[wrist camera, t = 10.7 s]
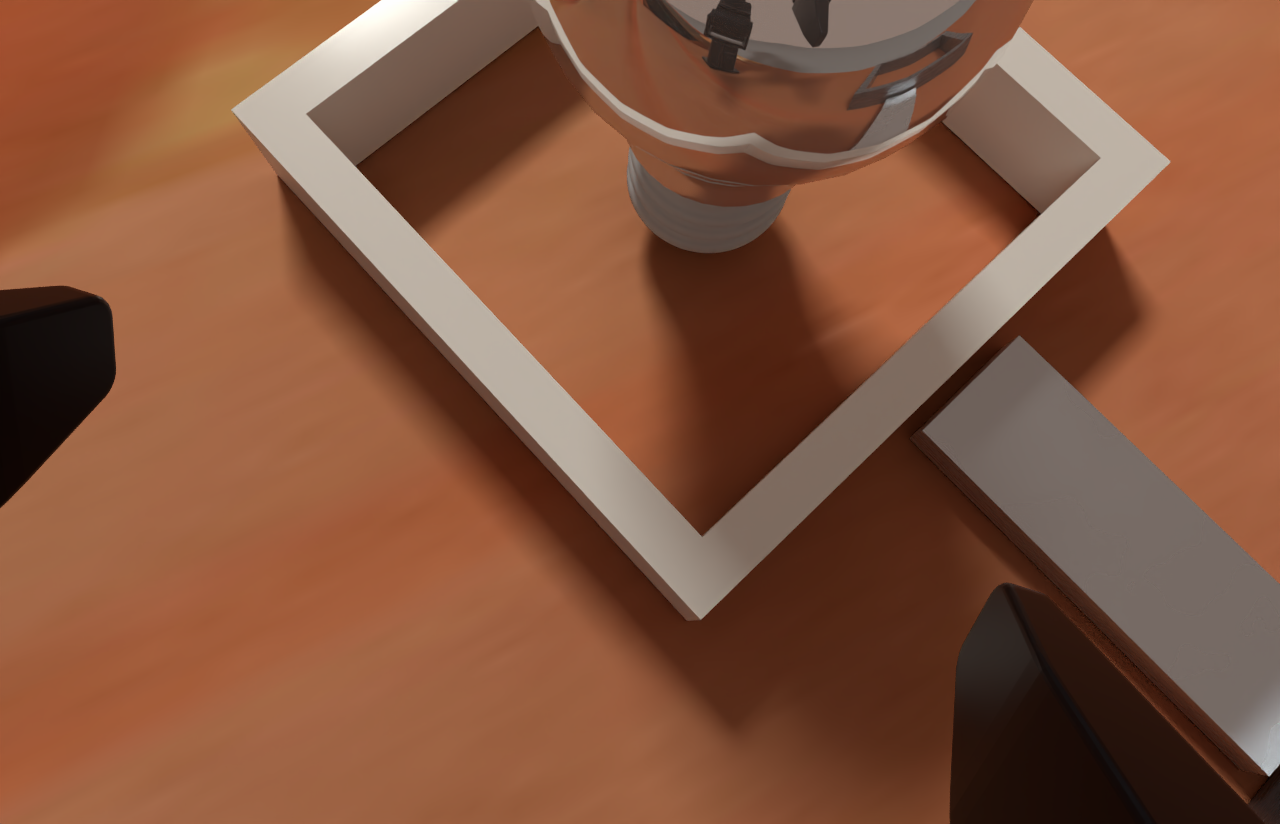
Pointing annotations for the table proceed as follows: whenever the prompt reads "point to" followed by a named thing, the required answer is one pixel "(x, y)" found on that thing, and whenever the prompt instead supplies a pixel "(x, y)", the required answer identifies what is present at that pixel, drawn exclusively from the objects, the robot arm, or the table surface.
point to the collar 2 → (1268, 800)
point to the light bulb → (765, 93)
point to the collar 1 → (533, 400)
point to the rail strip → (1120, 545)
